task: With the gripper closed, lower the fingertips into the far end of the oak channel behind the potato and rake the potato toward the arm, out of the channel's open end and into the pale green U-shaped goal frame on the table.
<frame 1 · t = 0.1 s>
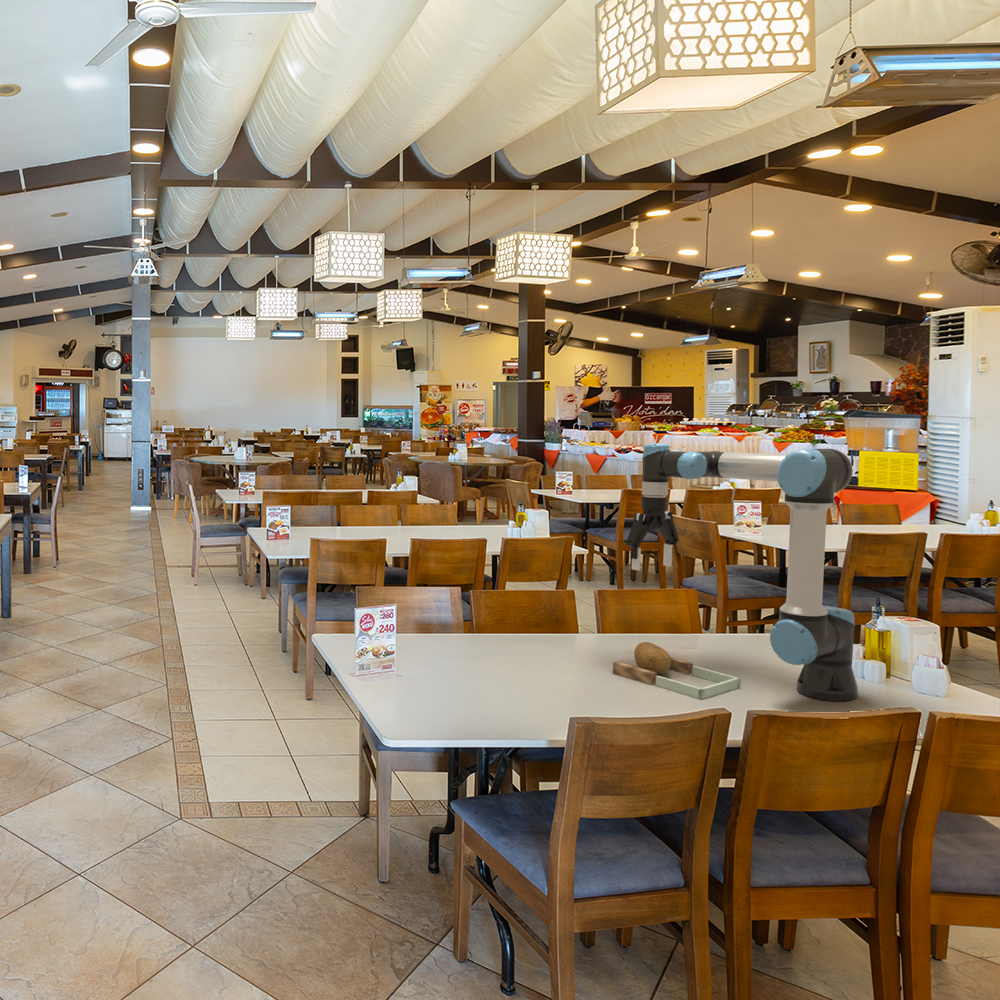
hand: (651, 568, 257), 28 cm above the table, fingers open, 13 cm apart
goal frame: (697, 686, 235), on the table
channel: (652, 673, 246), on the table
potato: (652, 674, 246), on the table
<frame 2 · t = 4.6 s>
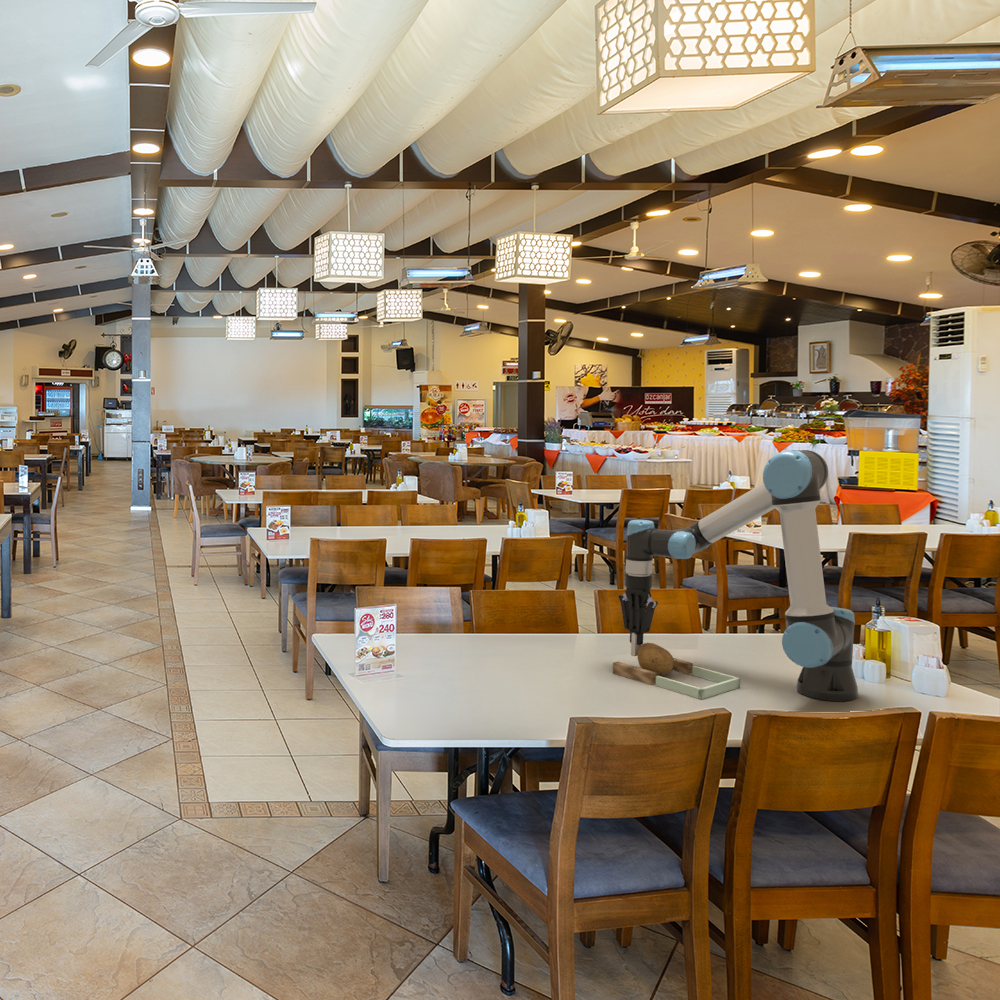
hand: (635, 654, 251), 4 cm above the table, fingers closed
potato: (655, 674, 245), on the table, touching gripper
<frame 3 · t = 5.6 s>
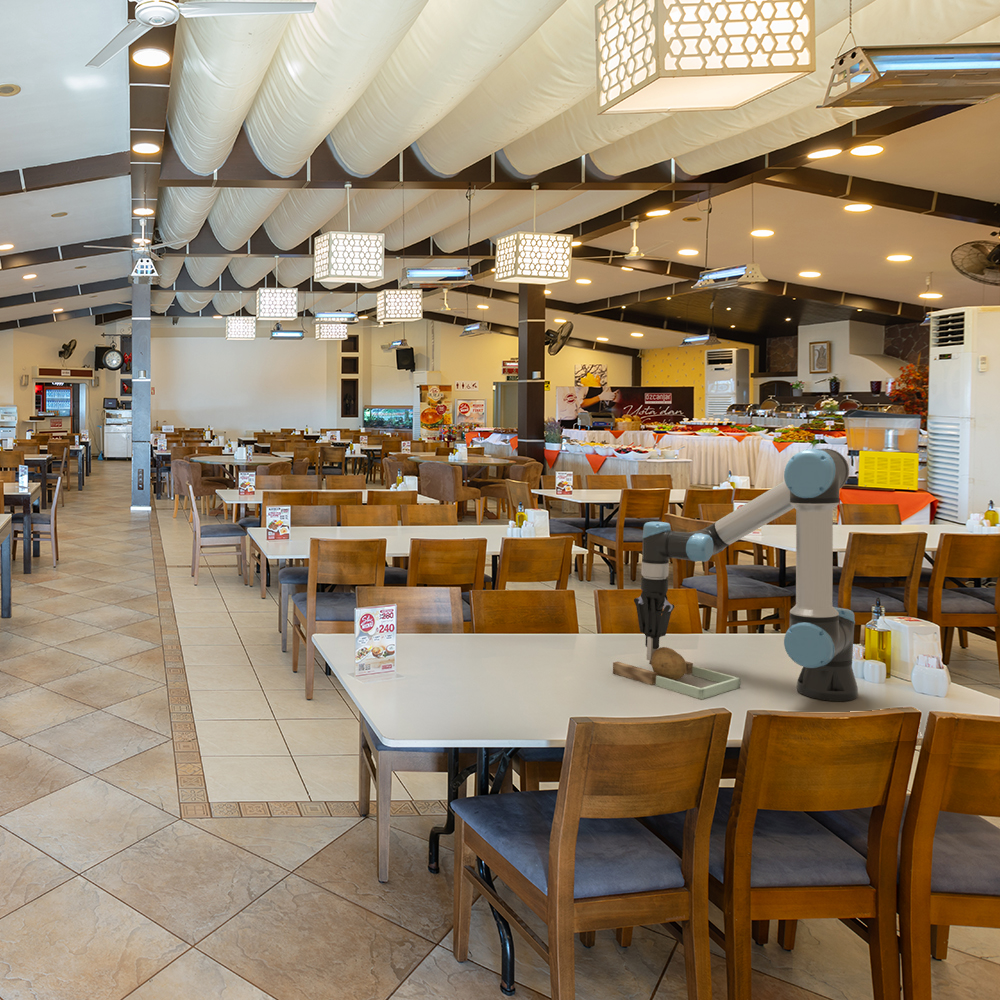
hand: (651, 659, 247), 4 cm above the table, fingers closed
potato: (668, 680, 240), on the table, touching gripper
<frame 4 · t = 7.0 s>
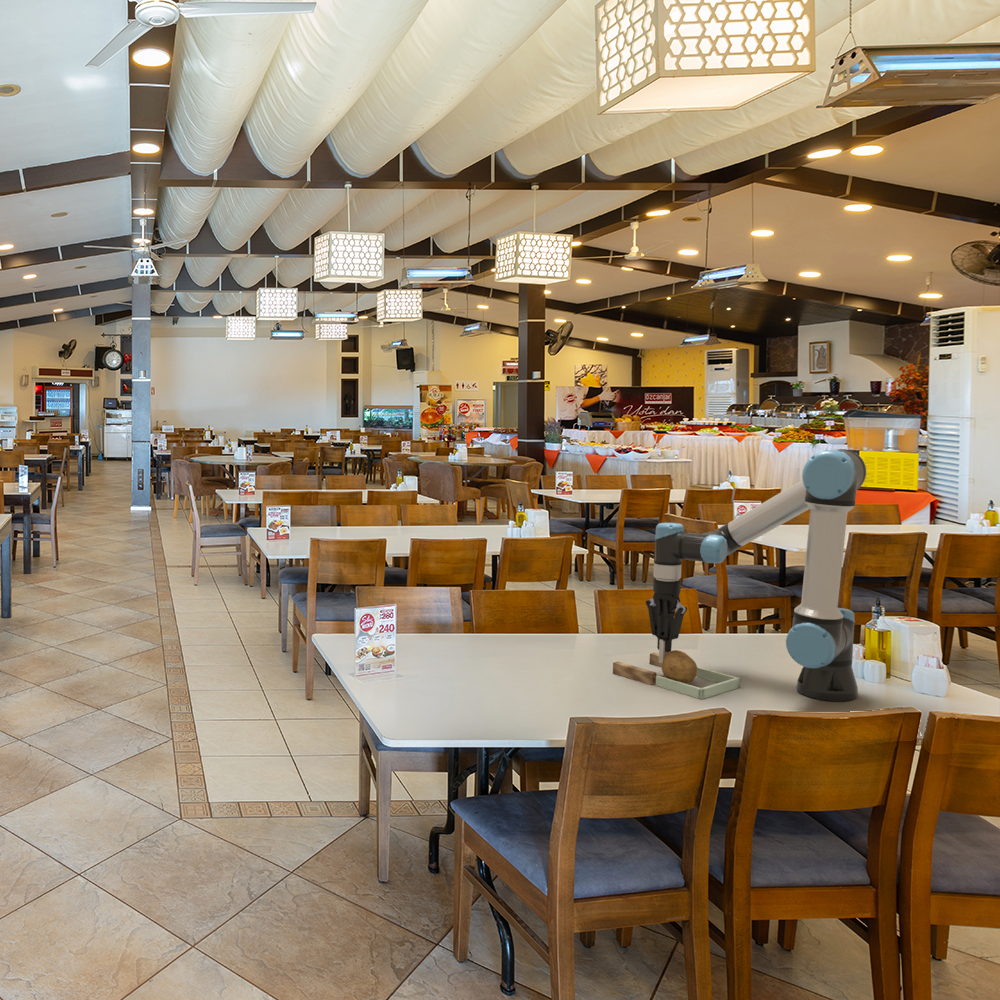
hand: (663, 662, 243), 4 cm above the table, fingers closed
potato: (678, 684, 237), on the table, touching gripper
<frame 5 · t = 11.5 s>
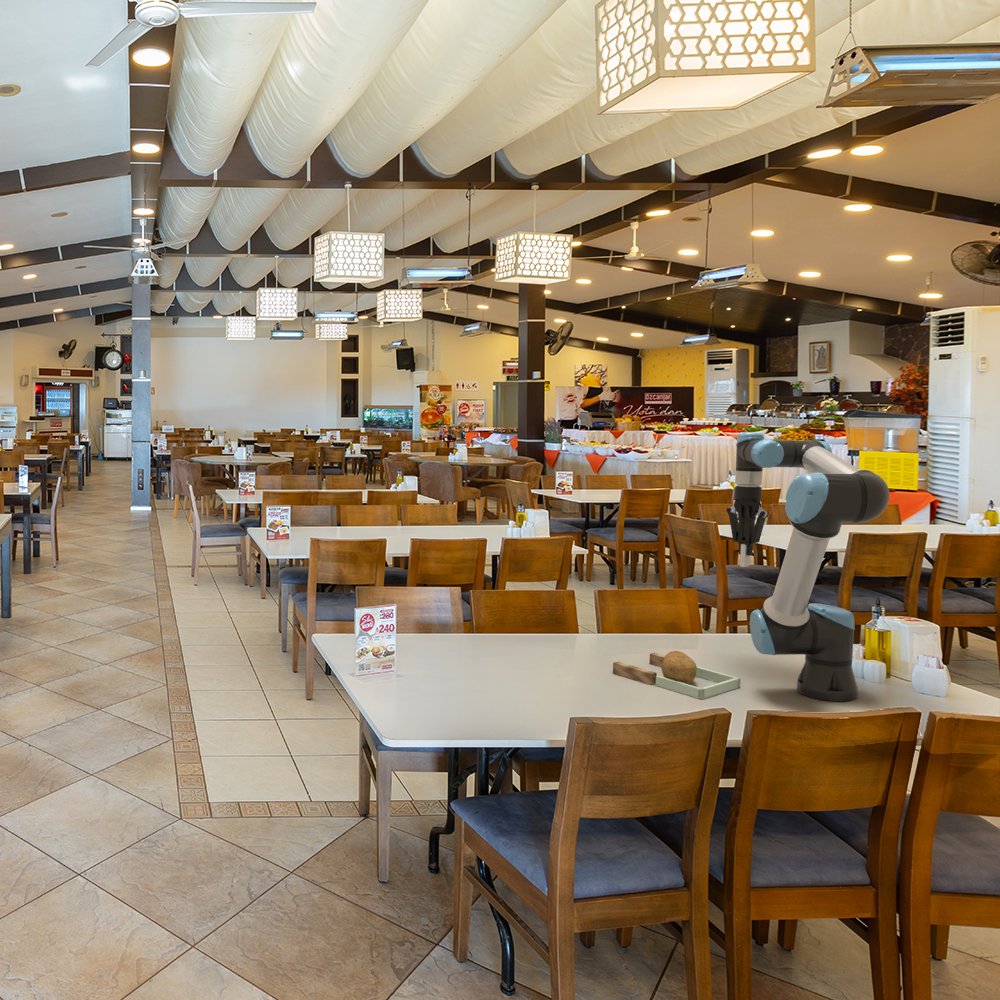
hand: (744, 566, 254), 29 cm above the table, fingers closed
potato: (678, 684, 237), on the table
at the end: potato inside the target area (4.7 cm from its centre), on the table; potato moved 10.9 cm from its start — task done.
